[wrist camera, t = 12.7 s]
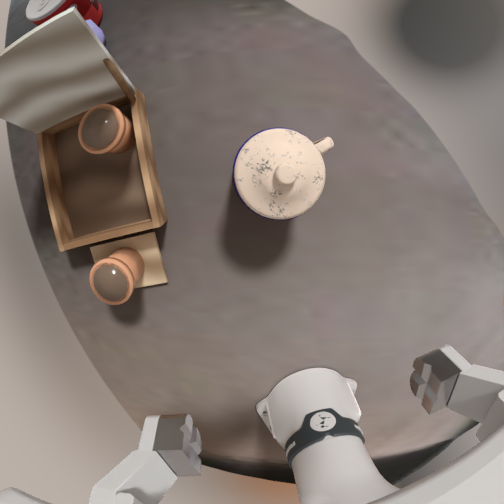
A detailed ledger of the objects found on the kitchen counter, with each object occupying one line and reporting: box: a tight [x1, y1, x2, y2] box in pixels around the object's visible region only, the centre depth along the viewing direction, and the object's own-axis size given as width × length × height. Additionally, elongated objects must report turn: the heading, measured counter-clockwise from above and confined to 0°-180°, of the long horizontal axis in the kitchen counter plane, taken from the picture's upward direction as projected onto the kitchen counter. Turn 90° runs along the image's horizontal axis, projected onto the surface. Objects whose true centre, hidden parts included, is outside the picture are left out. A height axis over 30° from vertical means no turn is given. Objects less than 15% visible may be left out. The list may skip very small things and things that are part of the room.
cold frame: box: [0, 6, 167, 252], centre depth 22 cm, size 20×15×20 cm
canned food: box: [26, 0, 103, 26], centre depth 20 cm, size 8×8×11 cm
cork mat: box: [90, 231, 168, 288], centre depth 36 cm, size 7×10×1 cm
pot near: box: [78, 104, 136, 154], centre depth 27 cm, size 6×6×7 cm
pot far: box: [90, 247, 145, 305], centre depth 32 cm, size 6×6×7 cm
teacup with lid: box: [233, 128, 334, 220], centre depth 29 cm, size 12×9×12 cm
